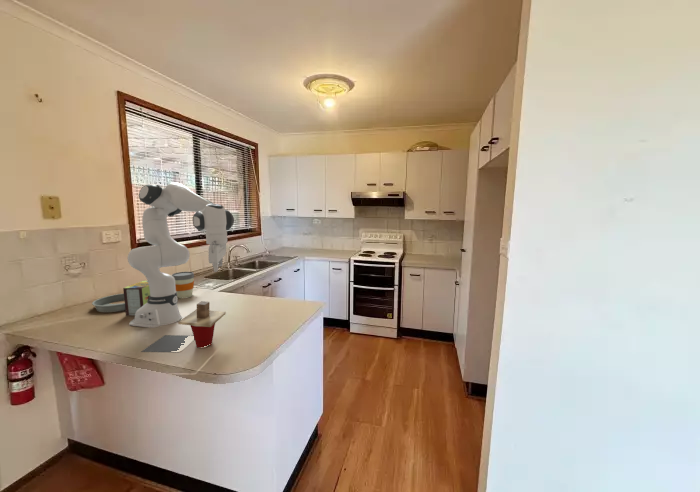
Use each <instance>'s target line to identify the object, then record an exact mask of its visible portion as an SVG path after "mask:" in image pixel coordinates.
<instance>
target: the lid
mask: <svg viewBox="0 0 700 492" xmlns="http://www.w3.org/2000/svg"><path fill="white" fill-rule="evenodd" d="M226 313H227V312H226V311H220V310H210V301H204V300H201V301H199V302H198V303H196V309H195V310H194V311H192V312H190V313H189V314H188V315H186V316H184V317H183V318H181V319H180V320H179V321H177V322H178V325H182V326H183V325H184V326H190V325H193V326H204V327H211V326H212V325H214V324H215V325H216V323H217V322H218V321H220V320H221V319H222V318H223V317H224V316H225V315H226Z"/></svg>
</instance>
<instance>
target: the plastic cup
mask: <svg viewBox="0 0 700 492" xmlns="http://www.w3.org/2000/svg"><path fill="white" fill-rule="evenodd" d="M189 326H190V328H191V331H192V336H194V343H195V346H196V347H197V348H198V347H204V346H207V345H209V344H211V343H212V344H213V338H214V333H215V326H216V323H215V324H214V325H212V326H211V327H204V326H193V325H189ZM212 344H211V345H212Z"/></svg>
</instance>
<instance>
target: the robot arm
mask: <svg viewBox="0 0 700 492" xmlns="http://www.w3.org/2000/svg"><path fill="white" fill-rule="evenodd" d="M138 198H139V200H140V202H142V203H144V204H145V205H147V206H150V207H148V208H146V209H145V210H144V211H143V213H142V219H141V220H142V222H141V223H142V230H143V231H142V232H143V237H144V240H145V241H146V242H147V243H149V244H150V245H146V246H139V247H136V248H132V249H130V251H129V252H128V255H127V262H128V264H129V266H130V267H132V268H133V269H135V270H137V271H139V273H141V274H143V276H145V278H146V281H148V284H149V289H150V295H149V296H148V297H146V299H148V301H147V303H146V304H144V305H143V306H142V307H141V308H139V309H138V310H137V311H136V313H135V316H134V318H133V319H132V320H131V321H130V322H129V325H128V326H134V327H143V328H158V327H161V326H166V325H171V324H173V323H177V322H179V321H180V320H182V319H183V318H182V315H181V313H180V308H179V306H178V299H179V298H177V292H176V286H175V278H174V277H173V276H172V274H169V273H166V272H162V271H161V270H160V268H167V267H177V266H180V265H184V264H187V263H188V261H189V259H190V250H189V249H188V247H187V246H186V245H184V244H182V243H180V242H177V241H176V240H175V239H174V238H173V237H172V235H171V233H170V229H169V224H168V220H167V218H168V217H174V216H175V215H178V214H180V213H182V212H183V211H184V212H189V213H190V212H191V213H192V212H193V213H194V212H195V213H194V214H193V216H192V225H193V227H194V228H195V229H196V230H197V231H200V232H205V237H206V238H205V239H206V242H205V243H206V245H209V246H208V263H209V264H212V268H213V272H218V271H219V267H220V268H222V267H223V261H224V257H225V256H226V253H227V244H228V231H230V230H231V228H232V227H233V225H234V223H235V218H234V215H233V214H232V212H231V211H229V210H228V209H225V206H223V205H221V204H219V203H214V202H212V201H211V200H208V199H207V198H204V197H203V196H200V195H198V194H197V193H195V192H194V191H192V190H191V189H189V188H188V187H187V186H185V184H184V185H183V184H182V183H179V182H176V181H175V182H174V181H173V182H170V183H168V184H167V185H166V186H165V187H161V185H160V184H146V185H144V186H142V187H141V188H140V190H139V193H138ZM146 299H145V300H146Z"/></svg>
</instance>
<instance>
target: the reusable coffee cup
mask: <svg viewBox="0 0 700 492" xmlns="http://www.w3.org/2000/svg"><path fill="white" fill-rule="evenodd" d="M171 275H172V276H173V277H174V278H175V286H176V292H177V299H187V298H191V297H192V296H193V291H194V287H195V286H194V285H195V280H194V278H195V273H194V272H193V271H180V272H174V273H172V274H171Z"/></svg>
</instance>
